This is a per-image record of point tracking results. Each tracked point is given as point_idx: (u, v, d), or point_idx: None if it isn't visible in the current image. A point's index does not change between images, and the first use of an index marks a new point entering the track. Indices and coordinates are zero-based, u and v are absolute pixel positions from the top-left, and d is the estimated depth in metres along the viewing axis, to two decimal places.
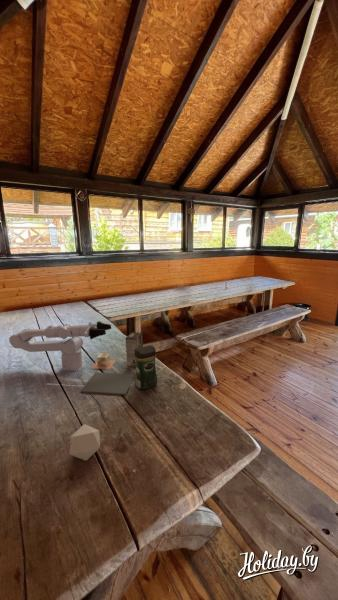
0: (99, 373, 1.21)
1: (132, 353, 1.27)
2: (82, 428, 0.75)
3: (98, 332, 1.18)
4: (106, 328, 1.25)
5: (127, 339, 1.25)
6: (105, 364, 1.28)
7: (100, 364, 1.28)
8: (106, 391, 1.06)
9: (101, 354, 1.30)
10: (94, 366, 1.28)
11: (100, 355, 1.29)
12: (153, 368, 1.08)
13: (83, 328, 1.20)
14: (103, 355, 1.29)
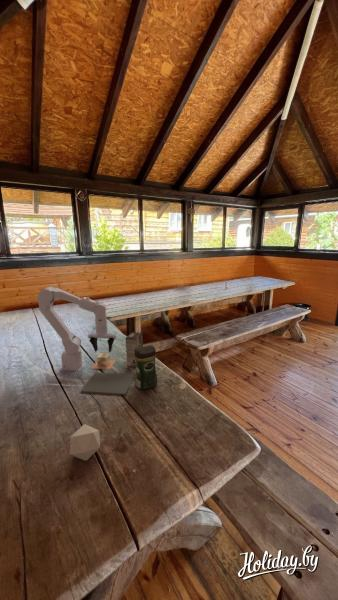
0: (99, 373, 1.21)
1: (132, 353, 1.27)
2: (82, 428, 0.75)
3: (110, 345, 1.28)
4: (95, 347, 1.28)
5: (127, 339, 1.25)
6: (105, 364, 1.28)
7: (100, 364, 1.28)
8: (106, 391, 1.06)
9: (101, 354, 1.30)
10: (94, 366, 1.28)
11: (100, 355, 1.29)
12: (153, 368, 1.08)
13: None
14: (103, 355, 1.29)
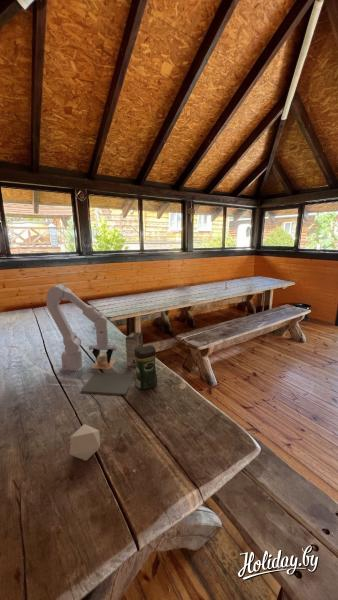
0: (99, 373, 1.21)
1: (132, 353, 1.27)
2: (82, 428, 0.75)
3: (109, 356, 1.29)
4: None
5: (127, 339, 1.25)
6: (105, 364, 1.28)
7: (100, 364, 1.28)
8: (106, 391, 1.06)
9: (101, 354, 1.30)
10: (94, 366, 1.28)
11: (100, 355, 1.29)
12: (153, 368, 1.08)
13: None
14: (103, 355, 1.29)
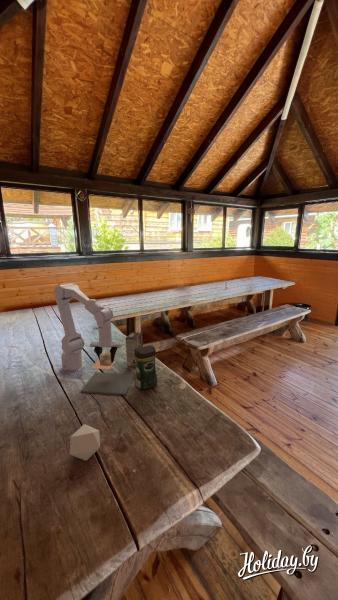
0: (99, 373, 1.21)
1: (132, 353, 1.27)
2: (82, 428, 0.75)
3: None
4: None
5: (127, 339, 1.25)
6: (109, 363, 1.14)
7: (103, 363, 1.14)
8: (106, 391, 1.06)
9: (104, 352, 1.16)
10: (94, 366, 1.28)
11: (103, 353, 1.15)
12: (153, 368, 1.08)
13: None
14: (106, 353, 1.15)
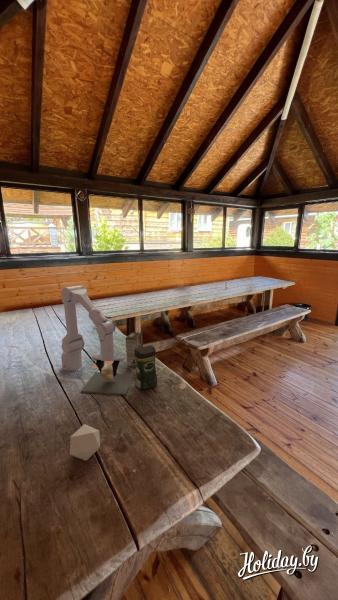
0: (99, 373, 1.21)
1: (132, 353, 1.27)
2: (82, 428, 0.75)
3: (115, 368, 1.11)
4: None
5: (127, 339, 1.25)
6: (111, 377, 1.10)
7: (105, 377, 1.10)
8: (106, 391, 1.06)
9: (106, 365, 1.13)
10: (94, 366, 1.28)
11: (105, 367, 1.11)
12: (153, 368, 1.08)
13: None
14: (108, 367, 1.11)
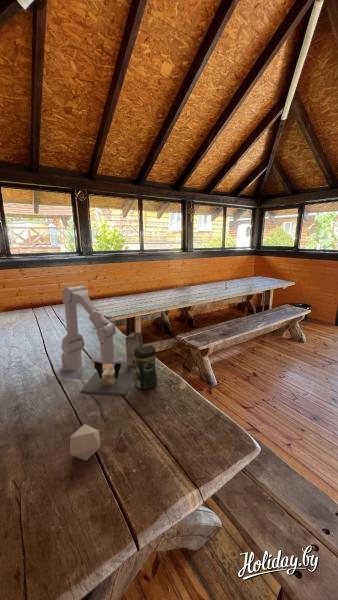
0: None
1: (132, 353, 1.27)
2: (82, 428, 0.75)
3: (117, 371, 1.11)
4: (101, 373, 1.12)
5: (127, 339, 1.25)
6: (111, 382, 1.10)
7: (105, 382, 1.11)
8: (106, 391, 1.06)
9: (106, 370, 1.13)
10: None
11: (105, 372, 1.12)
12: (153, 368, 1.08)
13: None
14: (109, 372, 1.12)
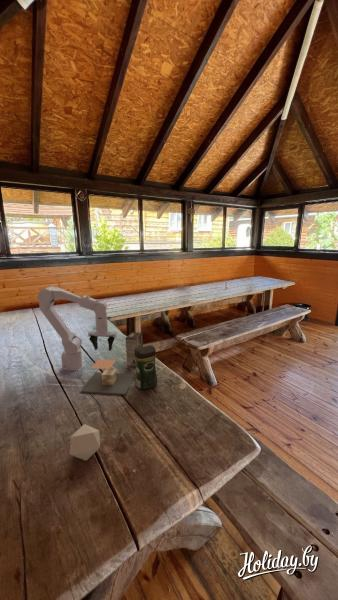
0: (99, 373, 1.21)
1: (132, 353, 1.27)
2: (82, 428, 0.75)
3: (111, 344, 1.26)
4: (95, 345, 1.27)
5: (127, 339, 1.25)
6: (111, 382, 1.10)
7: (105, 382, 1.11)
8: (106, 391, 1.06)
9: (106, 370, 1.13)
10: (94, 366, 1.28)
11: (105, 372, 1.12)
12: (153, 368, 1.08)
13: None
14: (109, 372, 1.12)
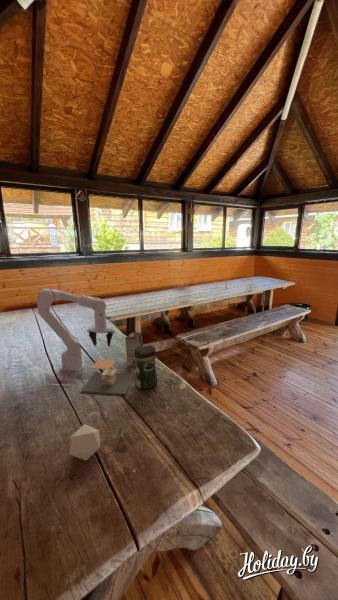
0: (99, 373, 1.21)
1: (132, 353, 1.27)
2: (82, 428, 0.75)
3: (109, 339, 1.31)
4: (94, 341, 1.32)
5: (127, 339, 1.25)
6: (111, 382, 1.10)
7: (105, 382, 1.11)
8: (106, 391, 1.06)
9: (106, 370, 1.13)
10: (94, 366, 1.28)
11: (105, 372, 1.12)
12: (153, 368, 1.08)
13: None
14: (109, 372, 1.12)
